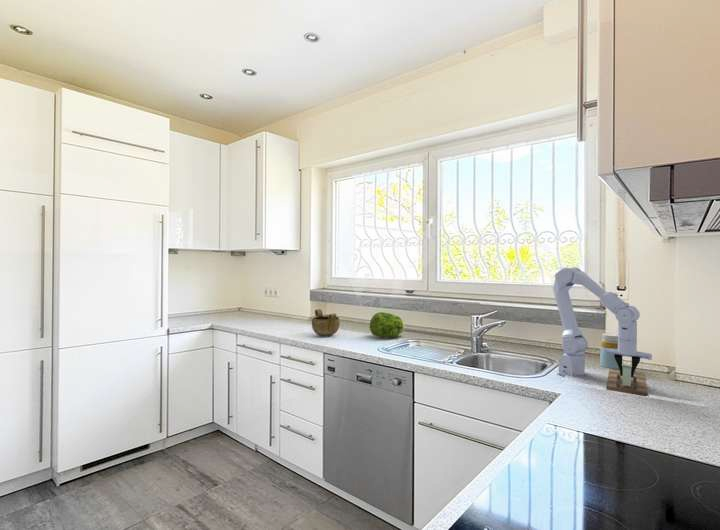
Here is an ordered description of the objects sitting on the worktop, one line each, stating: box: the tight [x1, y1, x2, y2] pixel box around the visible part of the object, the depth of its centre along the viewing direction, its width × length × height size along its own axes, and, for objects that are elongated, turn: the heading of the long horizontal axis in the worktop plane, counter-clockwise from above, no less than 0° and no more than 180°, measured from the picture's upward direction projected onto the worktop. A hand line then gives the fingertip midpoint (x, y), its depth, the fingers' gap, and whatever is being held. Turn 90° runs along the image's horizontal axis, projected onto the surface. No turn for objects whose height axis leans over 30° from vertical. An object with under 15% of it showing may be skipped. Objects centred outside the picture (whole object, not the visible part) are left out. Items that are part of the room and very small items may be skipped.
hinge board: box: [605, 369, 649, 397], centre depth 146 cm, size 26×12×3 cm, turn 145°
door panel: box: [622, 362, 632, 386], centre depth 141 cm, size 10×2×6 cm, turn 145°
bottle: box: [599, 332, 619, 370], centre depth 165 cm, size 7×7×15 cm
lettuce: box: [369, 311, 405, 339], centre depth 230 cm, size 16×21×15 cm
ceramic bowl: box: [311, 308, 341, 338], centre depth 234 cm, size 22×17×15 cm
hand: (626, 376), depth 141 cm, fingers closed on door panel, 2 cm apart
